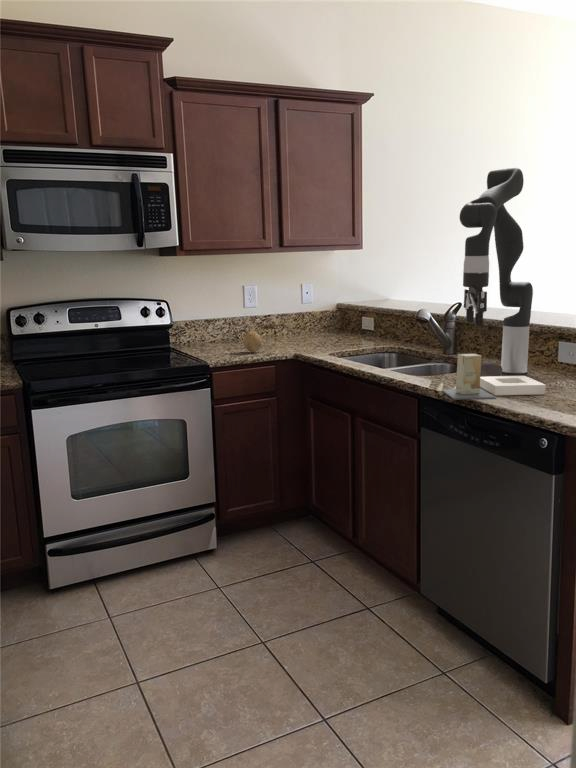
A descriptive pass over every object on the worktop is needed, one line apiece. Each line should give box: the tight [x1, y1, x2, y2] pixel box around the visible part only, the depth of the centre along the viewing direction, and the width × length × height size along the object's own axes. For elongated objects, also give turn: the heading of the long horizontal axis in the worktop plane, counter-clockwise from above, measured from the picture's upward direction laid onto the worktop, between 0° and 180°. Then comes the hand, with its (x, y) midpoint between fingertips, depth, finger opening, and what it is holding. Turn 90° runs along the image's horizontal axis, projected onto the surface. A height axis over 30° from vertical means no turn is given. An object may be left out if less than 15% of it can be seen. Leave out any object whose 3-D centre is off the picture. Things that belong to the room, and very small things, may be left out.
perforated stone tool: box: [480, 361, 503, 377], centre depth 227 cm, size 15×5×7 cm, turn 112°
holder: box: [480, 375, 547, 396], centre depth 212 cm, size 16×16×3 cm
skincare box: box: [455, 353, 483, 395], centre depth 204 cm, size 6×4×12 cm
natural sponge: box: [242, 330, 264, 354], centre depth 301 cm, size 9×9×10 cm
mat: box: [441, 388, 496, 401], centre depth 205 cm, size 13×13×1 cm
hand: (474, 324), depth 202 cm, fingers open, 8 cm apart
